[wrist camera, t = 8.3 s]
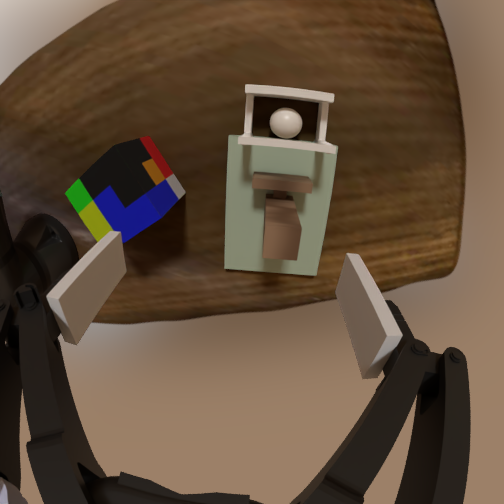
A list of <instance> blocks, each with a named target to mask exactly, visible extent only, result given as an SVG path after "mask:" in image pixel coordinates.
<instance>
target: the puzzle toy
mask: <svg viewBox="0 0 504 504" xmlns="http://www.w3.org/2000/svg"><path fill="white" fill-rule="evenodd" d="M185 193H186V192H185V191H184V189H183V188H182V186H181V185H180V183H179V182H178V180H177V179H176V177H175V175H174V174H173V172H172V171H171V169H170V168H169V166H168V165H167V163H166V161H165V160H164V158H163V157H162V155H161V154H160V152H159V151H158V149H157V147H156V146H155V144H154V143H153V141H152V140H151V138H150V136H147V137H143V138H138V139H135V140H131V141H127V142H123V143H120V144H116V145H114V146H113V147H112V148H110V149H109V150H108V151H107V152H106V153H105V154H104V155H103V156H102V157H101V158H99V159H98V160H97V161H96V162H95V163H94V164H93V165H92V166H91V167H90V168H89V169H88V170H87V171H86V172H85V173H84V174H83V175H82V176H81V177H80V178H79V179H78V180H77V181H76V182H75V183H74V184H73V185H72V186H71V187H70V188H69V189H68V191H67V192H66V193H65V194H66V195H67V197H68V199H69V200H70V202H71V203H72V205H73V206H74V208H75V210H76V211H77V213H78V214H79V216H80V217H81V219H82V220H83V222H84V223H85V225H86V226H87V227H88V229H89V230H90V232H91V233H92V235H93V236H94V237H95V239H96V240H97V242H99V241H100V240H101V239H102V238H103V237H104V236H105V235H106V234H107V233H108V232H110V231H117V232H121V237H122V244H123V243H125V242H126V241H128V240H129V239H131V238H132V237H134V236H135V235H137V234H138V233H139V232H141V231H142V230H144V229H145V228H147V227H149V226H150V225H152V224H153V223H155V222H156V221H158V220H159V219H161V218H162V217H163V216H164V215H165V214H166V213H167V212H168V211H169V210H170V209H171V208H172V206H173V205H174V204H175V203H176V202H177V201H178V200H179V199H180V198H181V197H182V196H183V195H184V194H185Z"/></svg>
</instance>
